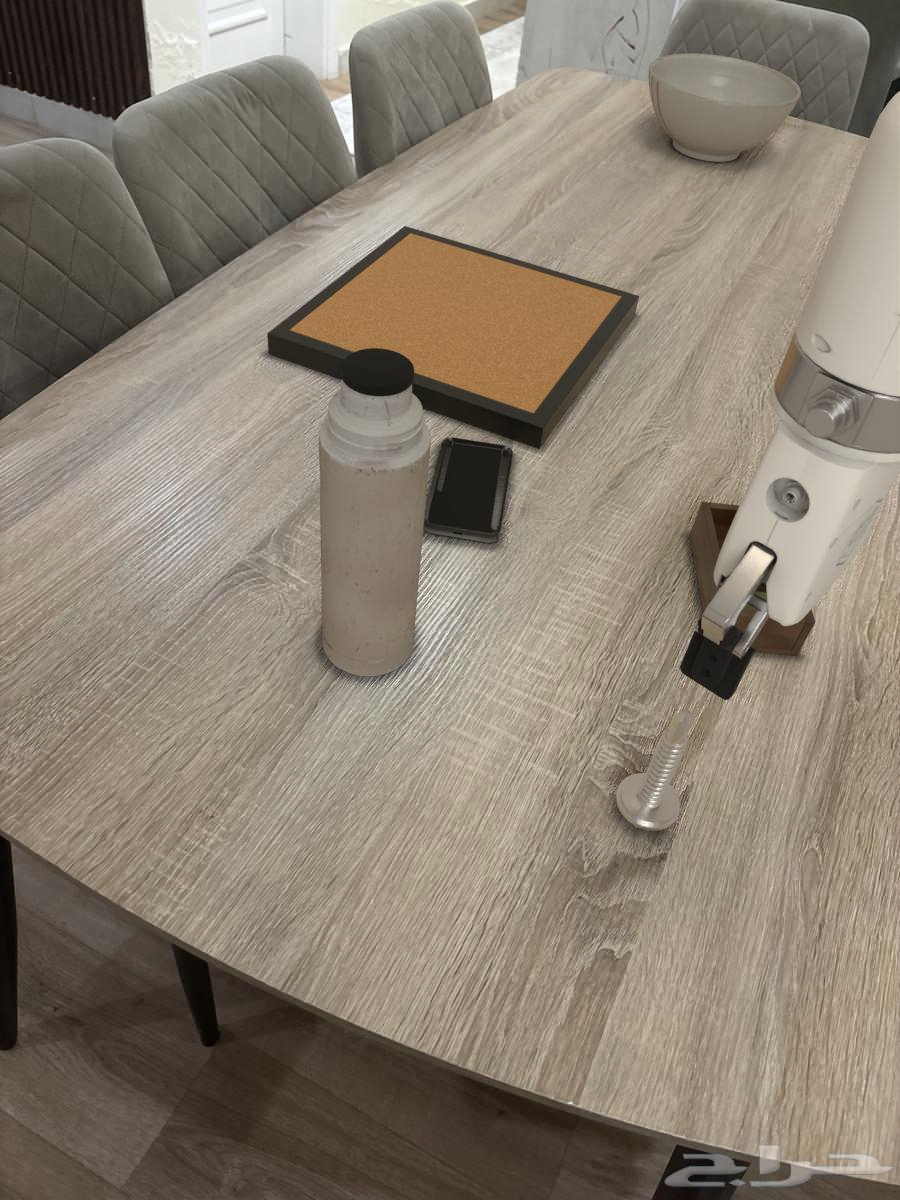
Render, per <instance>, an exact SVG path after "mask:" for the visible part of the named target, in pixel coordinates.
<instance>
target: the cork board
mask: <svg viewBox="0 0 900 1200" xmlns="http://www.w3.org/2000/svg"><path fill="white" fill-rule="evenodd" d="M639 299H640V295H638V294H634V293H630V292H628V291H624V290H621V289H617V288H614V287H611V286H608V285H604V284H601V283H597V282H595V281H591V280H588V279H584V278H581V277H578V276H574V275H570V274H568V273H564V272H560V271H557V270H554V269H550V268H548V267H544V266H540V265H537V264H534V263H530V262H527V261H523V260H520V259H517V258H513V257H511V256H508V255H503V254H500V253H497V252H493V251H491V250H487V249H483V248H480V247H477V246H473V245H470V244H467V243H463V242H460V241H458V240H454V239H450V238H446V237H443V236H440V235H437V234H433V233H431V232H426V231H423V230H420V229H417V228H413V227H409V226H406V225H404V226H403V227H401V228H400V229H399V230H397V231H396V232H395V233H394V234H393V235H391V236H389V238H387V239H385V241H383V242H382V243H381V244H379V245H378V246H377V247H376V248H374V249H373V250H372V251H371V252H370V253H368V254H367V255H366V256H364V257H363V258H362V259H361V260H359V261H358V262H357V263H355V264H354V265H353V266H352V267H350V268H349V269H348V270H346V271H344V273H342V275H340V276H339V277H337V278H336V279H335V280H334V281H332V282H330V284H329V285H328V286H326V287H325V288H324V289H322V290H321V291H319V292H318V293H317V294H316V295H314V296H313V297H312V298H310V299H309V300H308V301H306V302H305V303H304V304H303V305H302V306H300V307H299V308H298V309H297V310H295V311H294V312H293V313H292V314H290V315H289V316H288V317H286V318H285V319H284V320H282V321H281V322H279V323H278V324H277V325H276V326H275V327H274V328H272V329H271V330H270V331H269V332H267V334H266V335H267V349H268V351H267V352H268V355H271V356H274V357H276V358H279V359H282V360H285V361H288V362H291V363H293V364H296V365H299V366H301V367H304V368H308V369H311V370H313V371H316V372H319V373H321V374H324V375H328V376H330V377H333V378H337V379H339V380H342V377H341V364H342V362H343V360H344V359H345V358H346V357H347V356H348V355H349V354H351V353H353V352H355V351H359V350H362V349H369V348H381V349H388V350H392V351H395V352H398V353H400V354H402V355H404V356H405V357H407V358H408V359H409V360H410V361H411V362H412V364H413V366H414V380H413V383H412V393H413V394H414V395H415V396H416V397H417V398H418V400H419V401H420V402H421V405H422V407H423V410H424V409H425V410H427V411H430V412H434V413H436V414H439V415H442V416H444V417H448V418H450V419H453V420H456V421H459V422H461V423H464V424H466V425H467V424H468V425H470V426H472V427H476V428H479V429H481V430H484V431H486V432H490V433H493V434H496V435H499V436H501V437H505V438H507V439H510V440H512V441H516V442H518V443H522V444H524V445H527V446H530V447H533V448H535V449H539V450H540V449H541V448H542V446H543V444H545V442H546V441H547V439H548V438H549V436H550V435H551V434H552V432H553V431H554V430H555V428H556V427H557V425H558V424H559V422H561V420H562V418H563V417H564V415H565V414H566V413H567V411H568V410H569V408H570V407H571V405H572V404H573V403H574V401H575V400H576V398H577V397H578V396H579V395H580V393H581V391H582V390H583V388H584V387H585V386H586V384H587V383H588V382H589V380H590V379H591V378H592V376H593V375H594V373H595V372H596V370H597V369H598V368H599V366H600V365H601V363H602V362H603V360H605V358H606V356H607V355H608V353H609V352H610V351H611V350H612V348H613V346H614V345H615V344H616V342H617V341H618V339H619V338H620V336H621V335H622V334H623V333H624V331H625V329H627V327H628V325H629V324H630V323H631V321H632V319H633V318H634V317H635V316H636V311H637V308H638V303H639Z"/></svg>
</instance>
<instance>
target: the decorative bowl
mask: <svg viewBox="0 0 900 1200" xmlns="http://www.w3.org/2000/svg"><path fill="white" fill-rule="evenodd" d="M647 73H648V74H647V75H648V77H647V78H648V90H649V96H650V102H651V105H652V109H653V111H654V113H655V117H656V118H657V121H658V123H659V124H660V126H661V127H662V129H663V130H664V132H665V133H666V134H667V135H668V136H669V137H670V138H671V139H672V146H673V147H674V149H675V150H677V151H678V152H679V153H681V154H683V155H685V156H687V157H690V158H693V159H695V160H700V161H705V162H714V163H715V162H716V163H723V162H724V163H725V162H730V161H733V160H736V159H737V158H738V157H739V156H740V154H741V153H742V152H746V151H748V150H750V149H752V148H754V147H756V146H758V145H759V144H761V143H762V142H764V141H766V140H767V139H768V138H769V137H770V136H772V134H774V133H775V132H776V131H777V130H778V129H779V127H781V126H782V125H783V124H784V122H785V121H786V120H787V118H788V117H789V116H790V114H791V113H792V111H793V110H794V109H795V107H796V105H797V104H798V103H799V100H800V98H801V95H802V90H801V87H800V86H799V84H798V83H797V82H796V81H795V80H793V79H792V78H791V77H789V76H788V75H786V74H784V73H783V72H781V71H778V70H776V69H773V68H771V67H768V66H766V65H763V64H760V63H756V62H754V61H749V60H745V59H740V58H737V57H732V56H725V55H719V54H711V53H710V54H709V53H694V52H693V53H688V52H687V53H674V54H667V55H663V56H660V57H658V58H655V59H654V60H653V61H652V62H651V63H650V64H649V67H648V72H647Z"/></svg>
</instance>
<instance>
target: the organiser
mask: <svg viewBox="0 0 900 1200" xmlns="http://www.w3.org/2000/svg"><path fill="white" fill-rule="evenodd" d="M739 505H740V504H739ZM739 505H738V504H730V503H720V502H712V501H711V502H709V501H701V503H700V504H699V507H698V511H697V513H696V516H695V519H694V522H693V525H692V527H691V530H690V532H689V541H690V542H689V543H690V547H691V551H692V558H693V563H694V567H695V573H696V578H697V579H696V580H697V584H698V589H699V594H700V600H701V606H702V610H703V612H704V611H705V609H706V608H707V606H708V605H709V603H710V602H711V601H712V599H713V597H714V596H715V594H716V593H717V591H718V589H719V588H718V587H717V586H716V584H715V581H714V570H715V566H716V563H717V560H718V557H719V554H720V551H721V548H722V546H723V543H724V541H725V538H726V536H727V533H728V531H729V529H730V526H731V524H732V522H733V519H734V517H735V515H736V512H737V510H738V508H739ZM754 594H756V595H758V596H759V597H761V598H763V599H765V600H766V601H767V590H766V589H765V588H763V587H762V585H761V584H760V585H759V587H758V588H757V589H756V591H755V592H754ZM756 612H757V609H755V608H754V607H752V606H750V605H749V604H747V603H746V605H745V606H744V607H743V609H742V610H741V612H740V613H739V615H738V617H737V620H736V623H735V624H734V626H735V627H736V628H738V629H740V630H741V631H742V632H744V630H745V629H746V627H747V626H748V624H749V623H750V621H751V619H752V618H753V616H754V615H755V613H756ZM815 624H816V619H815V617H814V613H813V608H812V609H811V610H810V611H809V612H808V613H807V615H806V616H805V617H804V618H803V619H802V620H801V621H799V622H798V623H796V624H793V625H790V626H783V625H781V624H780V623H779V622H777V621H775V620H773V619H771V618H768V620H767V621H766V623H765V624H764V626H763V627H762V629H761V631H760V632H759V634H758V635H757V637H756V638H755V640H754V641H753V643H752V645H751V647H752V648H754V649H755V652H754V653H760V654H771V655H782V656H783V655H784V656H793V657H798V656H799V655H800V652H801V651H802V648H803V646H804V645H805V643H806V641H807V639H808V637H809V636H810V633H811V631H812V630H813V628H814V626H815Z"/></svg>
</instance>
